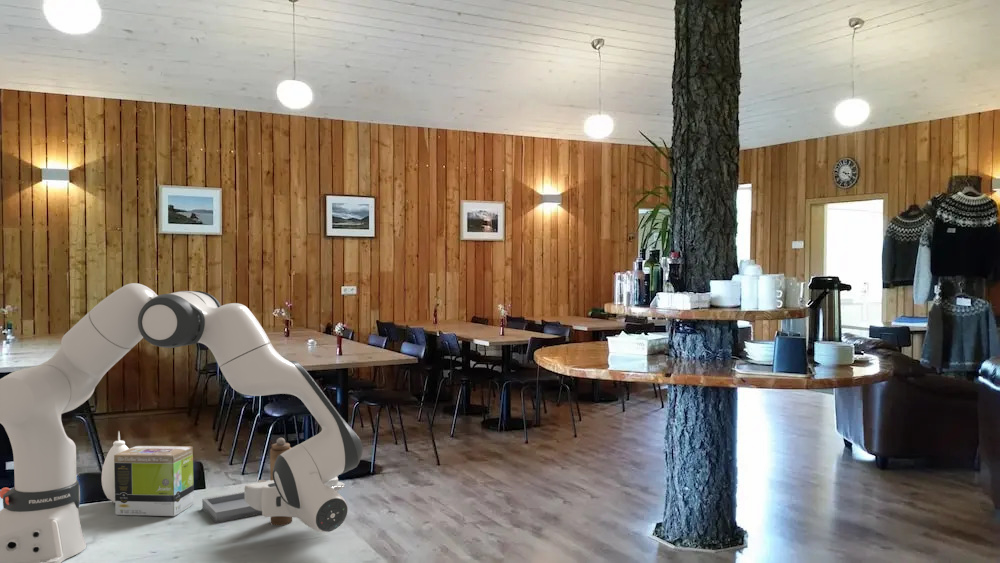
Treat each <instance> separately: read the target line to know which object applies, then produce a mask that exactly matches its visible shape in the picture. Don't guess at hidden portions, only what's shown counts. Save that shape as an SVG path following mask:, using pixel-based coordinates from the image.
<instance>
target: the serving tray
mask: <svg viewBox="0 0 1000 563" xmlns="http://www.w3.org/2000/svg"><path fill="white" fill-rule="evenodd" d="M202 510H203V511H204V512H205V513H206V514H207V515H208V516H209V517H210V518H211V519H212V520H213V521H214V522H215V523H216V524H217V523H222V522H228V521H233V520H237V519H238V518H239V519H243V518H247V517H253V516H258V515H262V511H258V510H255V509H254V508H252V507H251V506H249V505H248V504H247V503H246V501H245V491H242V492H237V493H236V492H234V493H230V494H229V493H228V494H224V495H217V496H212V497H207V498H202ZM239 519H238V520H239Z"/></svg>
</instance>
